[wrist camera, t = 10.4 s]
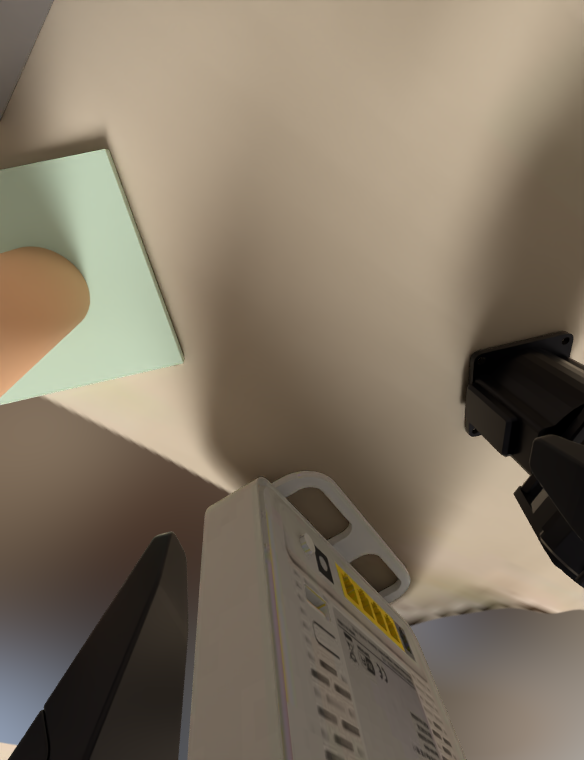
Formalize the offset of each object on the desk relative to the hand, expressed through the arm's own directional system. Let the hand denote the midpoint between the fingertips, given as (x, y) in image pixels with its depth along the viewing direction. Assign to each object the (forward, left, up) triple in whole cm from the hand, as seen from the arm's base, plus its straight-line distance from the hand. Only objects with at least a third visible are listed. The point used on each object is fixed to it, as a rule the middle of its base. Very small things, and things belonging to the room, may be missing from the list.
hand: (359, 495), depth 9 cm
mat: (+11, -4, -13) cm, 18 cm away
